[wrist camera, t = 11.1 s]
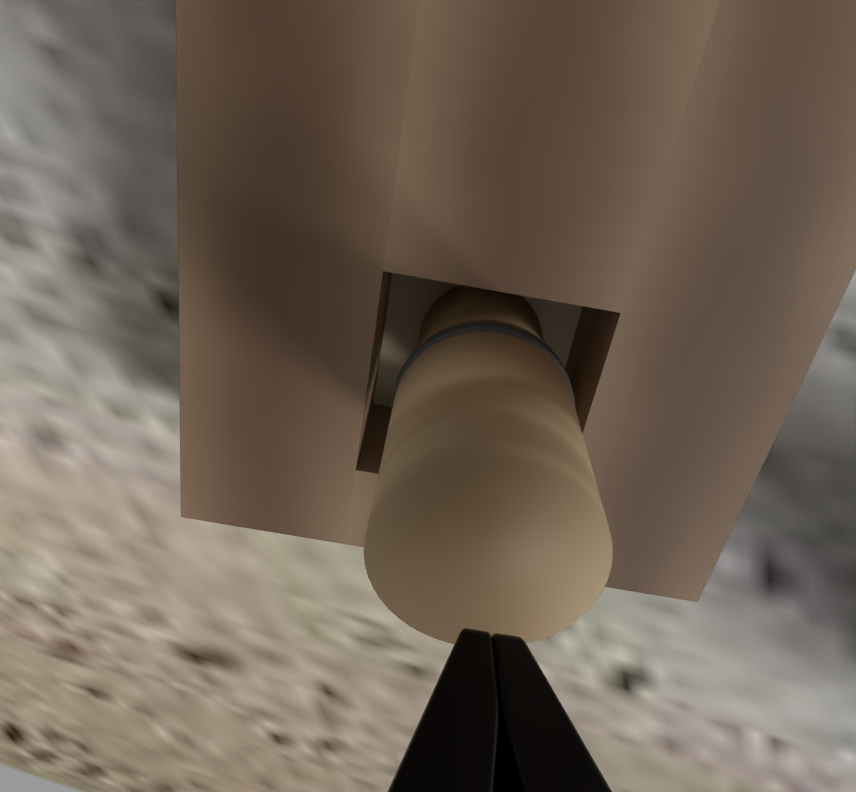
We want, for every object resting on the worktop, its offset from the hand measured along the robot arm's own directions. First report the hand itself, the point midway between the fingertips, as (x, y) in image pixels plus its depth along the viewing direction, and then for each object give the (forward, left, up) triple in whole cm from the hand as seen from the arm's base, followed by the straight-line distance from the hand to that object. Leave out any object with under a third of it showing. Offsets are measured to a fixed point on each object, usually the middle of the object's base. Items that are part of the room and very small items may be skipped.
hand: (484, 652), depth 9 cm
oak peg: (0, 0, -11) cm, 11 cm away
